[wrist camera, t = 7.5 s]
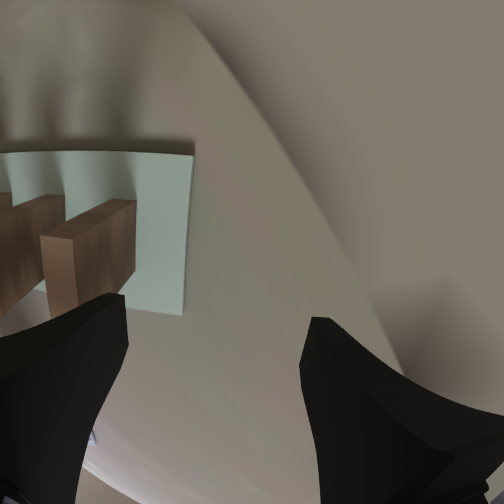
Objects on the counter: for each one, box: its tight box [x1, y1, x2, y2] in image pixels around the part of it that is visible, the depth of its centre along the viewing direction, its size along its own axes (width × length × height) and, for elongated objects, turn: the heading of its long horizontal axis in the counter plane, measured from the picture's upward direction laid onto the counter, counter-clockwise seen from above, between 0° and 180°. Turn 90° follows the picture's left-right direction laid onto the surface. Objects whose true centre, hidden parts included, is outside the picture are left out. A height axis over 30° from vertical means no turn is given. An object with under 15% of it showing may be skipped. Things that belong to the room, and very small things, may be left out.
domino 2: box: [40, 198, 137, 319], centre depth 14 cm, size 4×2×8 cm, turn 172°
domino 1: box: [0, 194, 66, 316], centre depth 14 cm, size 4×2×8 cm, turn 173°
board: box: [0, 151, 195, 316], centre depth 17 cm, size 10×28×1 cm, turn 83°
